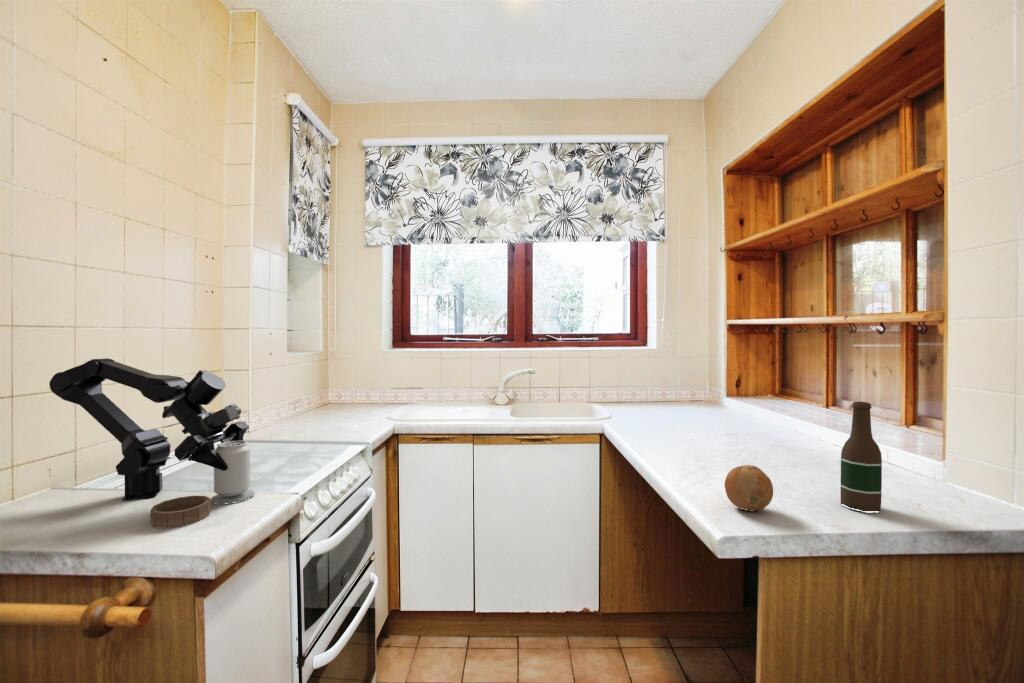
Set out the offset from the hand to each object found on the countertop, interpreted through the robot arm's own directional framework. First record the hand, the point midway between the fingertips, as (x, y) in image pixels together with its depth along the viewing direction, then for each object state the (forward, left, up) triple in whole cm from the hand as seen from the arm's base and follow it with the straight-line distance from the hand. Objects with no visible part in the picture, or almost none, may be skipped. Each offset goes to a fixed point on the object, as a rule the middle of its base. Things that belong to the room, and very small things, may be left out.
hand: (237, 464), depth 111 cm
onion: (+105, -57, -8) cm, 120 cm away
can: (-1, +1, -7) cm, 7 cm away
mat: (-1, +1, -8) cm, 8 cm away
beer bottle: (+129, -67, -8) cm, 146 cm away
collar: (-10, -9, -8) cm, 15 cm away
